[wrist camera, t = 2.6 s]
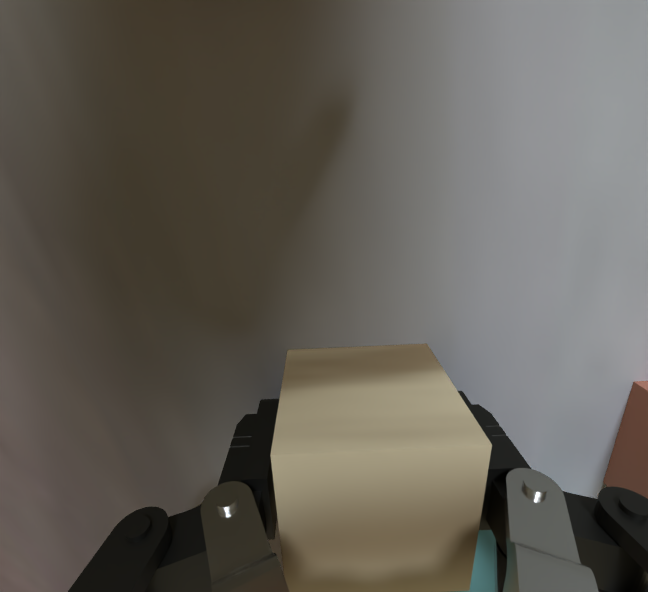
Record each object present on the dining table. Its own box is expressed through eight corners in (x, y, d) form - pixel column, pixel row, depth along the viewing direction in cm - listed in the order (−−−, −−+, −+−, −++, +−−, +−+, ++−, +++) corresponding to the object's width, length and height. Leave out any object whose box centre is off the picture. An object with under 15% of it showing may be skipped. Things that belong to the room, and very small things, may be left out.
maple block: (287, 348, 13) (270, 454, 8) (425, 342, 13) (492, 444, 8) (296, 457, 14) (286, 598, 9) (418, 452, 14) (469, 590, 10)
